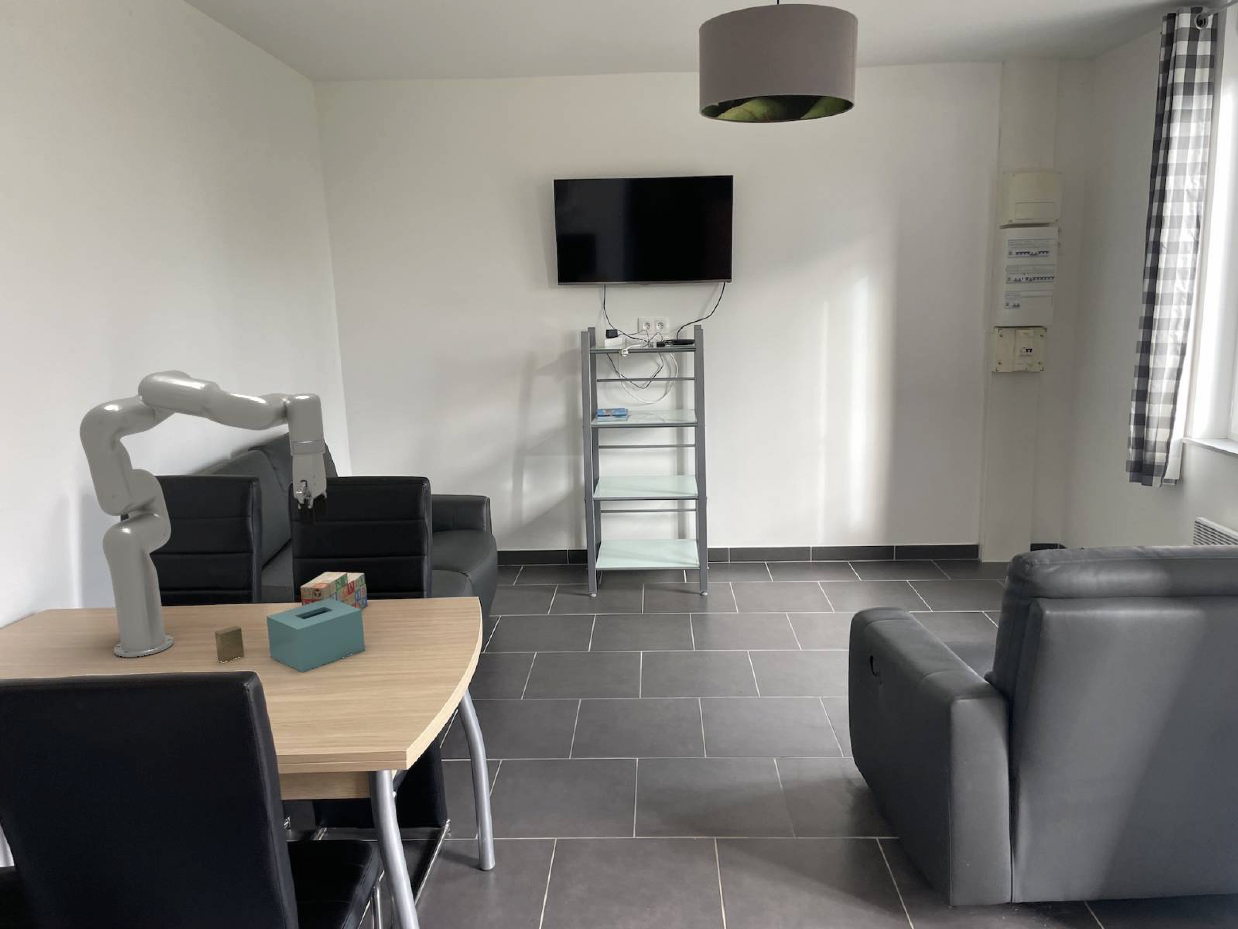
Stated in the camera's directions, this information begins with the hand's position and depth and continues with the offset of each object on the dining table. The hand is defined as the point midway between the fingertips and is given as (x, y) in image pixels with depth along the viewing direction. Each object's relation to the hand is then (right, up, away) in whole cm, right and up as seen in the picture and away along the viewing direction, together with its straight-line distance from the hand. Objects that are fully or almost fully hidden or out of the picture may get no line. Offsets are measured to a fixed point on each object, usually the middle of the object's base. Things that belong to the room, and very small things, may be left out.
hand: (314, 519), depth 207 cm
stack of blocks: (-2, -27, +23) cm, 36 cm away
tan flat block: (-19, -32, -1) cm, 37 cm away
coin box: (+1, -31, 0) cm, 31 cm away
